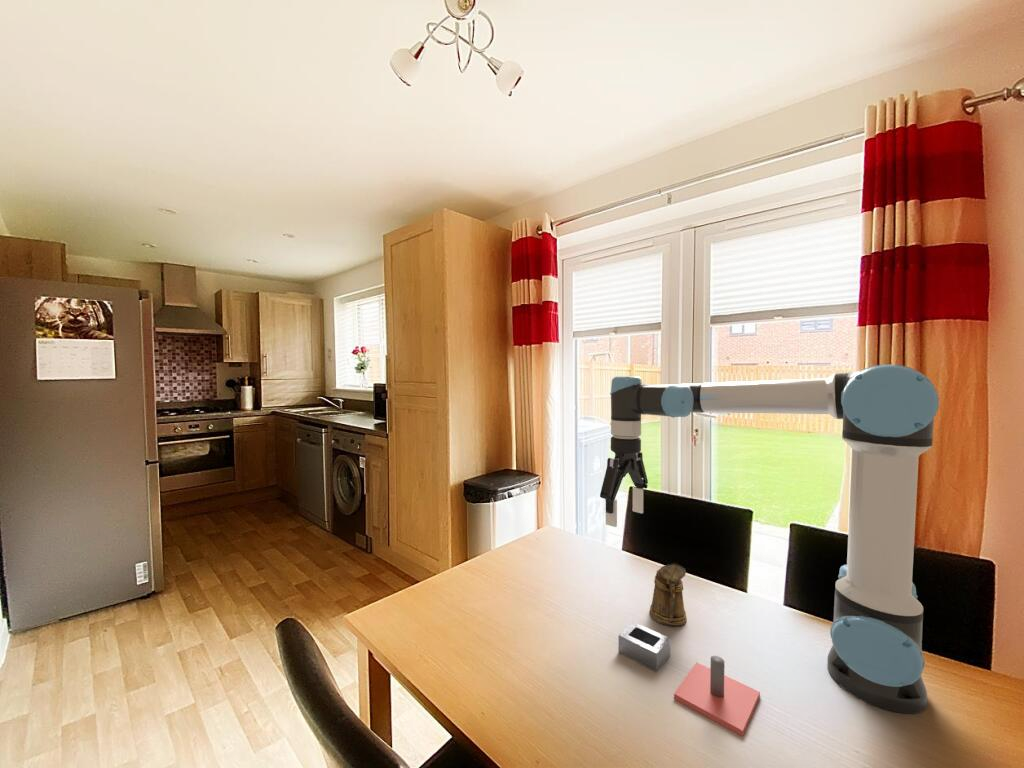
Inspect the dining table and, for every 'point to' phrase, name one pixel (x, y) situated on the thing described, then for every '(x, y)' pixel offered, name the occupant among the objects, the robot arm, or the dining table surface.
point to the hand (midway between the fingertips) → (625, 518)
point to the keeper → (718, 696)
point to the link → (644, 646)
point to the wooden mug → (669, 596)
